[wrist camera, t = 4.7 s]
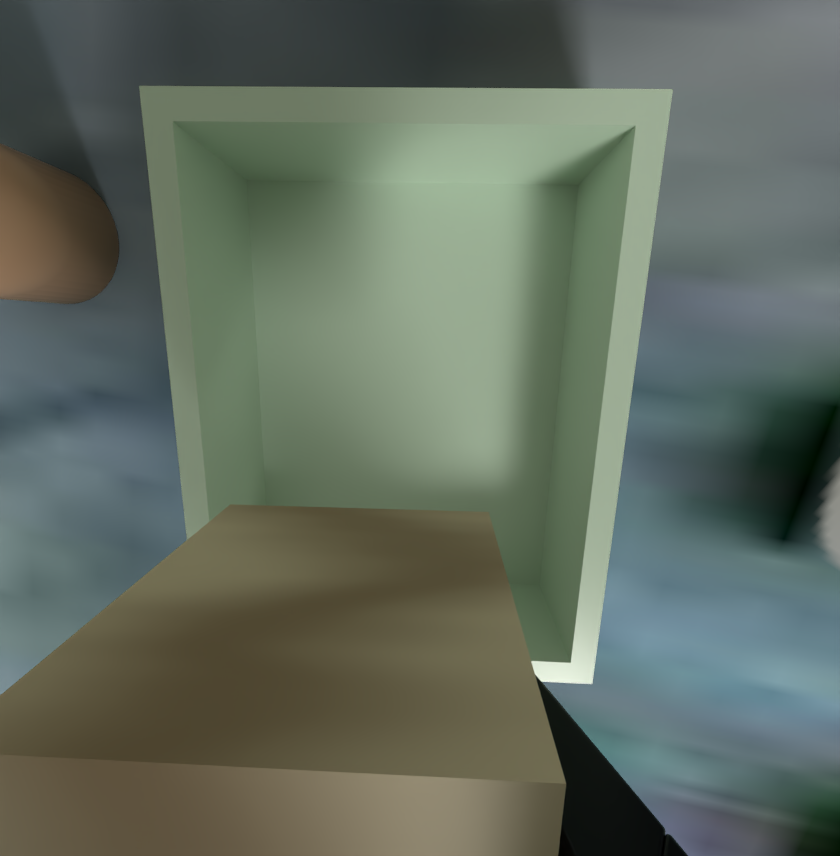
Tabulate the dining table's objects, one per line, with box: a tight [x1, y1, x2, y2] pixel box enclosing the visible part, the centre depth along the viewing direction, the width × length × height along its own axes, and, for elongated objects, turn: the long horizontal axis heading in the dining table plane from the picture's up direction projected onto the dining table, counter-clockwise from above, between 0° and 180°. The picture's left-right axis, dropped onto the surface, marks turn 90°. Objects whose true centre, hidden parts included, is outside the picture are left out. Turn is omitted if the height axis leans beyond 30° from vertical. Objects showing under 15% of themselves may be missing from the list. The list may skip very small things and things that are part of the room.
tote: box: [139, 86, 673, 684], centre depth 15 cm, size 18×14×5 cm
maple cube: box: [0, 504, 566, 856], centre depth 6 cm, size 5×5×5 cm
